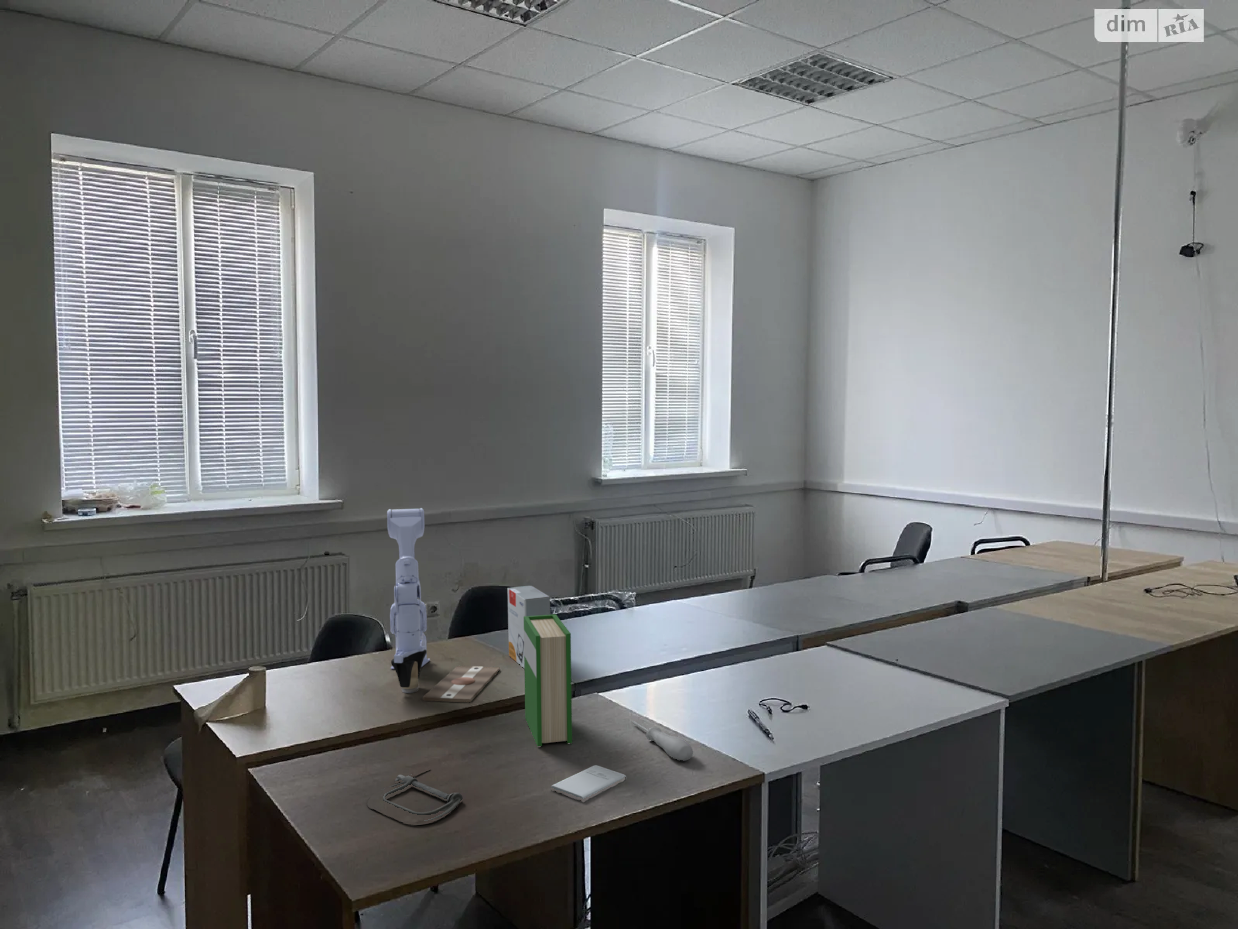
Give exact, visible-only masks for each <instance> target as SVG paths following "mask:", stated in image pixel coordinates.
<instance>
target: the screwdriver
mask: <svg viewBox="0 0 1238 929" xmlns="http://www.w3.org/2000/svg"><path fill="white" fill-rule="evenodd" d="M631 723H632V724H634V726H637V727H638V728H640V729H642V730H643V731H645V737H646V739H647V740H648V741H649V740H651V741H654V742H653V743H655V744H656V745H657V746H659V747H660V748H662V749H663V750H664V752H665V753H666V754H667V755H668V756H669V757H670V756H671V758H672V757H673V758H672V759H674V758H675V759H677V761H680V760H683V761H682V762H685V761H688V760H690V759H692V757H693V755H694V749H693V747H692V746H691V744H690V743H689V742H688V741H686V740H685V739H684V738H682V737H678V736H674V735H670V734H668V733H666V732H664V731H662V730H661V729H660V727H657V726H651V727H649V728H646V727H645V726H644V725H641V724H640V723H638V722H637V721H634V720H631ZM651 741H650V742H651ZM675 759H674V760H675Z"/></svg>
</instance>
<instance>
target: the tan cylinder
mask: <svg viewBox="0 0 1238 929" xmlns="http://www.w3.org/2000/svg"><path fill="white" fill-rule="evenodd" d="M418 691H419V679H418V663H417V662H416V661H415V662H414V665H413V667H412V672H411V681H410V686H409V687H408V688H407V687H401V692H402V693H404V694H412V693H416V692H418Z"/></svg>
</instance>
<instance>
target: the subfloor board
mask: <svg viewBox="0 0 1238 929" xmlns="http://www.w3.org/2000/svg"><path fill="white" fill-rule="evenodd" d="M498 671H499V672H500V671H501V668H500V667H498V666H497V667H494V666H482V665H481V666H479V665H478V666H477V665H472V666H469V665H467V666H466V665H456V666H455V667H454V668H453V669H452V670H451V671H450V672H449V673H448V674H446V675H445V676H444V677H443V678H441V680H440V681H439V682H438V683H437V684H435V685H434V686H433V687H432V688H431V689H430V690H428V692H427V693H425V694H424V695H423V696H422V702H423V701H425V702H426V701H427V702H449V703H450V702H452V703H469V702H470V703H471V702H472V701H473V700H474V699H475V698H476V697H477V696H478V694H479V693H480V692H482V691H483V689H484V688H485V687H486V686H487V685H488V684H489V683H490V682H491V681H492V679H493V678H494V677H495V676H496V675H497V674H498V673H499V672H498ZM497 672H498V673H497ZM495 674H496V675H495ZM489 681H490V682H489ZM488 682H489V683H488ZM487 683H488V684H487ZM486 684H487V685H486ZM485 685H486V686H485ZM476 695H477V696H476Z"/></svg>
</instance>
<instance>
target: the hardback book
mask: <svg viewBox="0 0 1238 929" xmlns="http://www.w3.org/2000/svg"><path fill="white" fill-rule="evenodd" d="M571 639H572V637H571V632H570V630H569V629H568V628H567V627H566V625H565V624H564V623H563V622H562V621H561V619H560V618H559V617H558V615H557V614H556V613H554V614H550V615H537V616H524V668H523V670H524V713H525V714H524V719H526V720H525V721H527V722H526V723H528V724H527V726H529V727H528V729H529V728H530V729H529V731H530V730H531V731H530V733H531V732H532V734H531V735H533V736H532V738H533V737H534V738H533V740H534V739H535V741H534V743H535V742H536V743H535V745H536V744H537V746H542V747H543V744H549V743H556V742H557V743H559V742H566V741H567V742H566V744H567V743H572V744H573V721H572V720H573V716H572V715H573V714H572V713H573V712H572V704H573V703H572V640H571ZM537 746H536V747H537Z"/></svg>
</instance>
